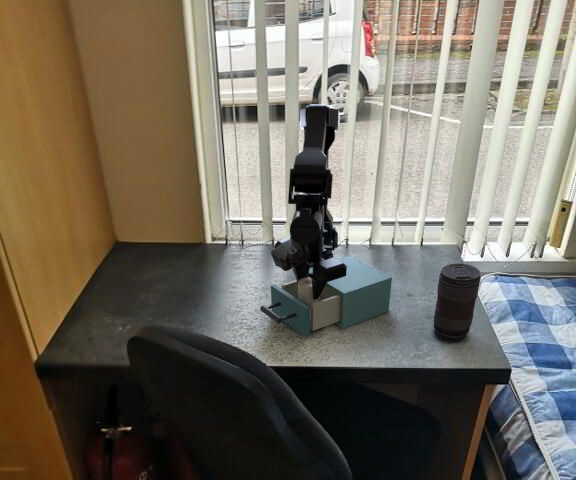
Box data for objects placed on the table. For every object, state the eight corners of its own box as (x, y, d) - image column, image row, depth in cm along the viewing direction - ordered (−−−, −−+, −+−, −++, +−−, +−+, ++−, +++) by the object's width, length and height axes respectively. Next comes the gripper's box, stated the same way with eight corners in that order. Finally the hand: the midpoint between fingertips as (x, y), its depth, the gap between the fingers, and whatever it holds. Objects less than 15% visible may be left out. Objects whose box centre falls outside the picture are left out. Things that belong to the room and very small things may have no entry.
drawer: (286, 344, 120) (285, 315, 116) (253, 318, 129) (251, 291, 125) (350, 320, 128) (352, 292, 124) (315, 297, 137) (315, 271, 133)
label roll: (311, 306, 124) (312, 289, 121) (293, 300, 126) (293, 283, 124) (323, 297, 127) (324, 280, 124) (306, 291, 129) (306, 275, 127)
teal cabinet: (342, 328, 126) (344, 293, 121) (304, 303, 136) (304, 269, 131) (388, 311, 133) (392, 277, 127) (348, 288, 142) (350, 255, 137)
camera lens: (426, 326, 127) (435, 263, 118) (461, 324, 127) (473, 261, 118) (436, 345, 120) (447, 280, 111) (474, 343, 121) (488, 278, 112)
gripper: (252, 220, 119) (255, 288, 128) (303, 250, 107) (303, 322, 116) (295, 210, 124) (296, 275, 133) (350, 236, 112) (346, 307, 121)
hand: (308, 294), depth 126 cm, fingers closed on label roll, 5 cm apart
